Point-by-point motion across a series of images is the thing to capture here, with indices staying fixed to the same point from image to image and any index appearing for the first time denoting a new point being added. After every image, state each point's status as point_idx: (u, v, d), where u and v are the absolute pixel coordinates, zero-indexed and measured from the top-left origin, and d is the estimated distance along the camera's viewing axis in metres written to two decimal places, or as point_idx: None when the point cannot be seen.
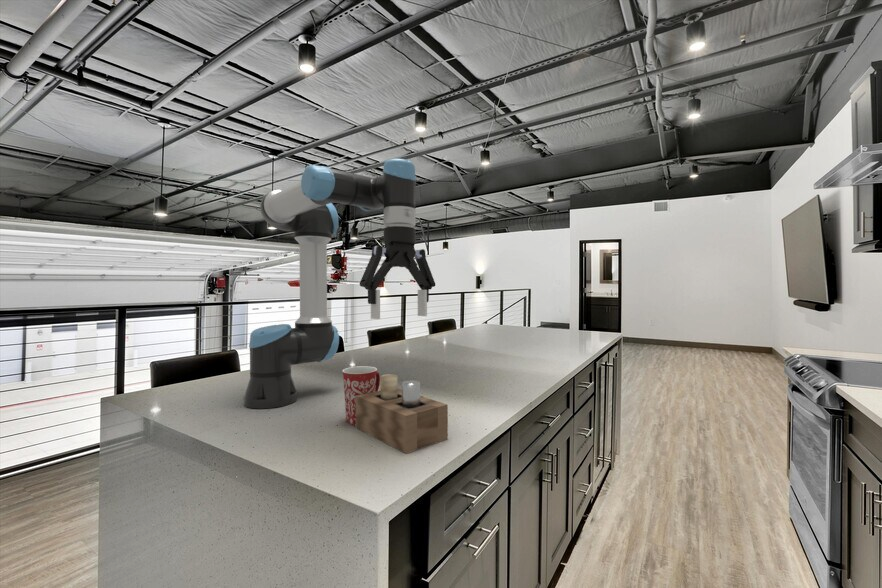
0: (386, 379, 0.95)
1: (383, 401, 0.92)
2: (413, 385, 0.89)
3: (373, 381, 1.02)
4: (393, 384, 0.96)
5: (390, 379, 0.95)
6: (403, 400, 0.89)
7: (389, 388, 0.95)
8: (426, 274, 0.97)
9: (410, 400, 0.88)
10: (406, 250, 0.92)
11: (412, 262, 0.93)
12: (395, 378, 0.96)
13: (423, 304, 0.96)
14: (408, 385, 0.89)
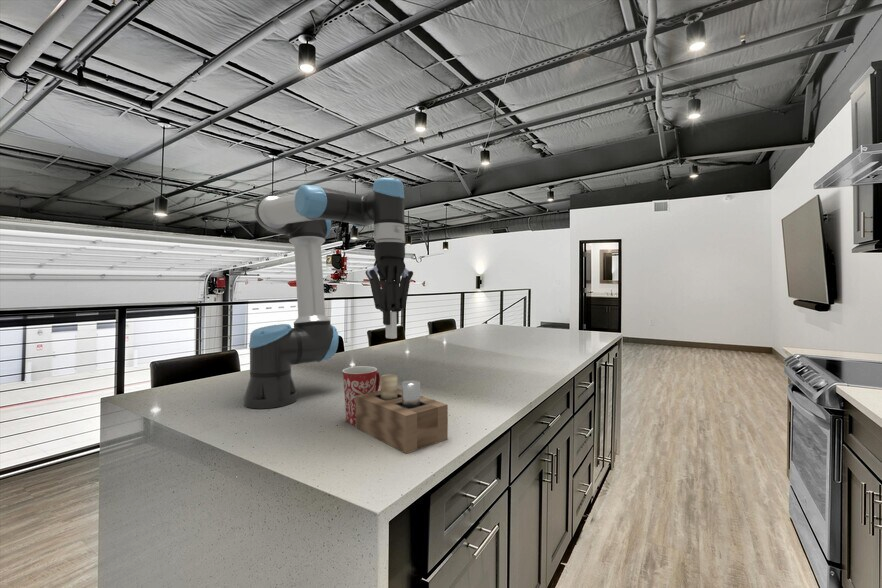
0: (386, 379, 0.95)
1: (383, 401, 0.92)
2: (413, 385, 0.89)
3: (373, 381, 1.02)
4: (393, 384, 0.96)
5: (390, 379, 0.95)
6: (403, 400, 0.89)
7: (389, 388, 0.95)
8: (402, 294, 0.98)
9: (410, 400, 0.88)
10: (398, 259, 0.97)
11: (397, 277, 0.96)
12: (395, 378, 0.96)
13: None
14: (408, 385, 0.89)
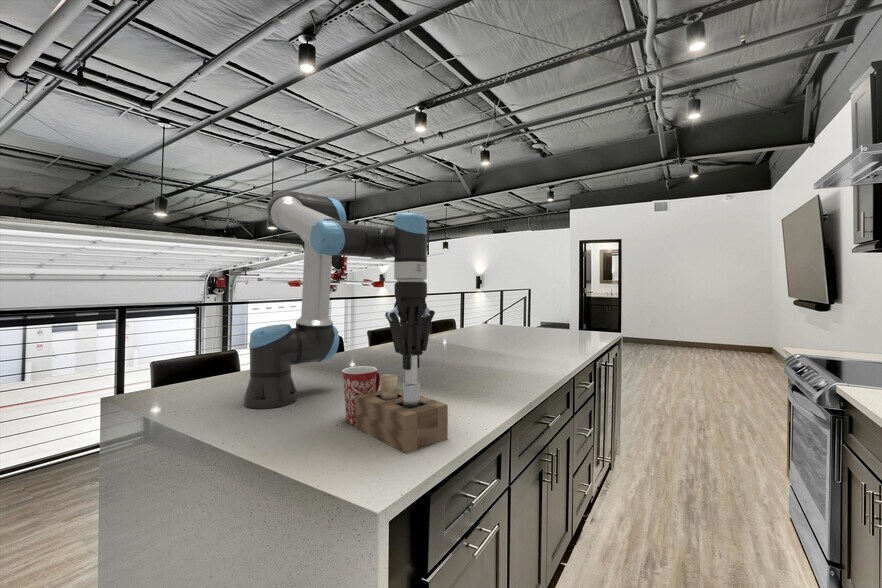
0: (386, 379, 0.95)
1: (383, 401, 0.92)
2: (413, 386, 0.89)
3: (373, 381, 1.02)
4: (393, 384, 0.96)
5: (390, 379, 0.95)
6: (403, 401, 0.89)
7: (389, 388, 0.95)
8: (423, 335, 0.92)
9: (410, 402, 0.89)
10: (419, 299, 0.91)
11: (418, 318, 0.90)
12: (395, 378, 0.96)
13: None
14: (408, 386, 0.89)
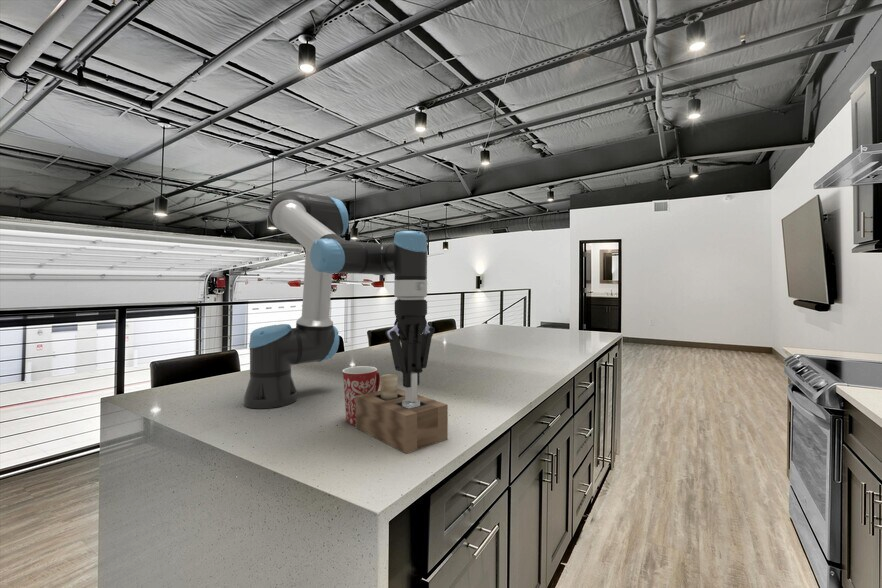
0: (386, 379, 0.95)
1: (383, 401, 0.92)
2: (413, 404, 0.89)
3: (373, 381, 1.02)
4: (393, 384, 0.96)
5: (390, 379, 0.95)
6: None
7: (389, 388, 0.95)
8: (423, 352, 0.92)
9: None
10: (420, 317, 0.91)
11: (419, 336, 0.90)
12: (395, 378, 0.96)
13: None
14: (408, 404, 0.89)
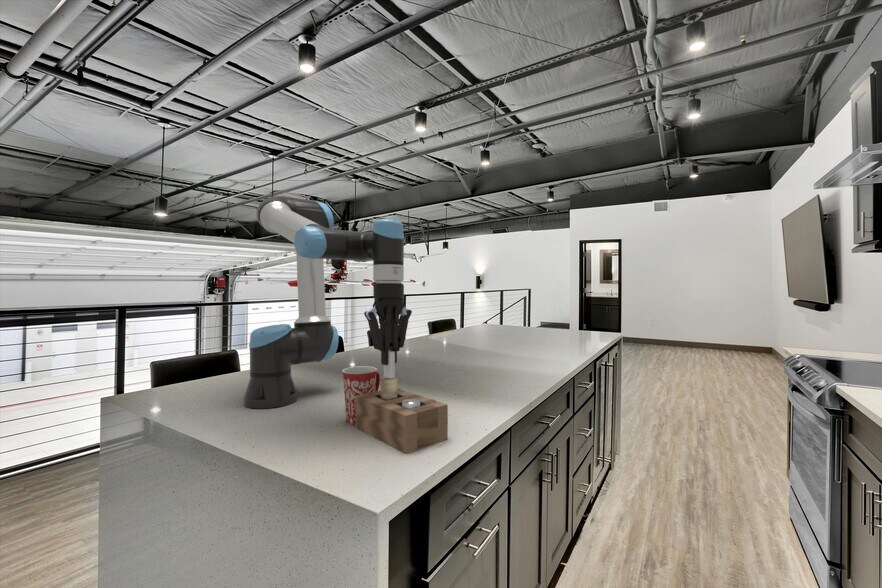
0: (386, 381, 0.95)
1: (383, 401, 0.92)
2: (413, 404, 0.89)
3: (373, 381, 1.02)
4: (393, 387, 0.96)
5: (390, 381, 0.95)
6: None
7: (389, 391, 0.95)
8: (400, 333, 0.99)
9: None
10: (397, 299, 0.97)
11: (396, 317, 0.96)
12: (395, 380, 0.96)
13: None
14: (408, 404, 0.89)
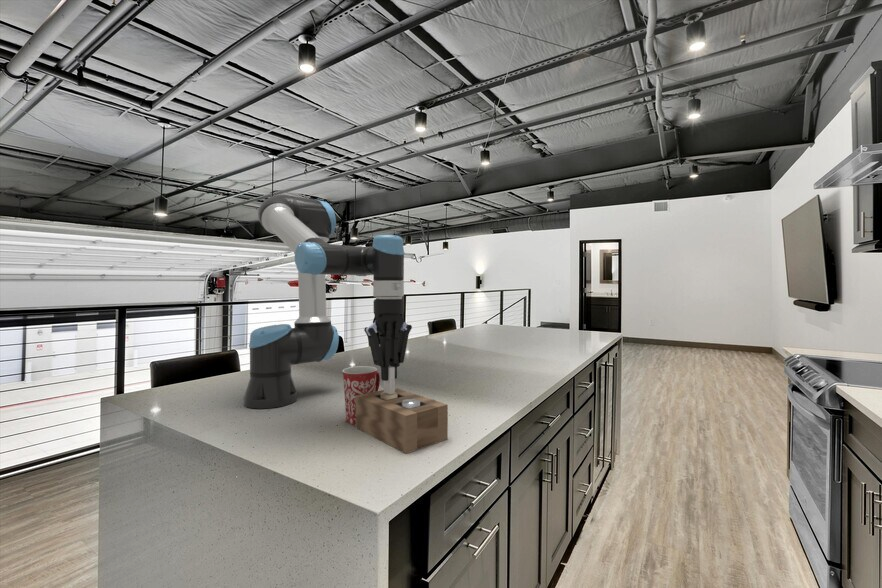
0: (386, 397, 0.95)
1: (383, 401, 0.92)
2: (413, 404, 0.89)
3: (373, 381, 1.02)
4: None
5: (390, 397, 0.95)
6: None
7: None
8: (400, 348, 0.99)
9: None
10: (397, 315, 0.97)
11: (396, 332, 0.96)
12: (395, 396, 0.96)
13: None
14: (408, 404, 0.89)
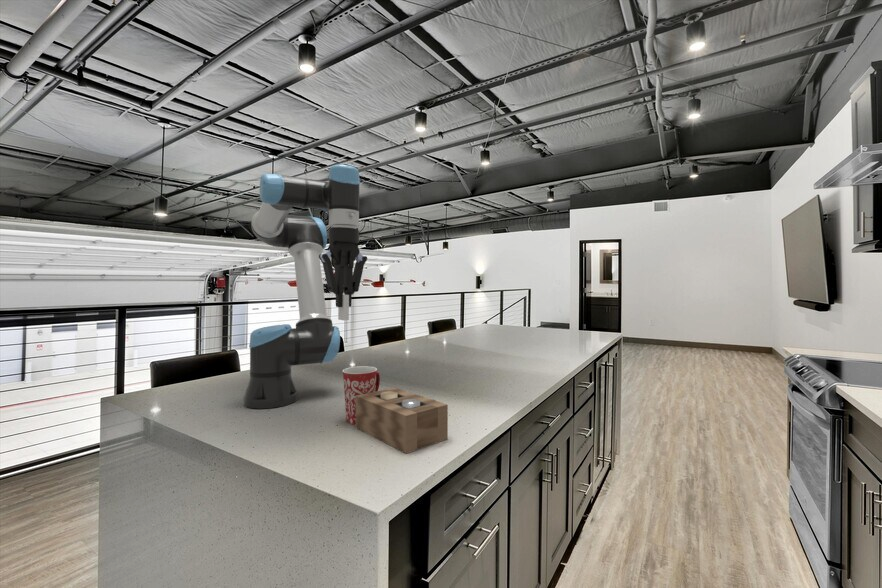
0: (386, 397, 0.95)
1: (383, 401, 0.92)
2: (413, 404, 0.89)
3: (373, 381, 1.02)
4: None
5: (390, 397, 0.95)
6: None
7: None
8: (355, 278, 1.02)
9: None
10: (352, 245, 1.01)
11: (350, 261, 1.00)
12: (395, 396, 0.96)
13: (345, 308, 1.00)
14: (408, 404, 0.89)
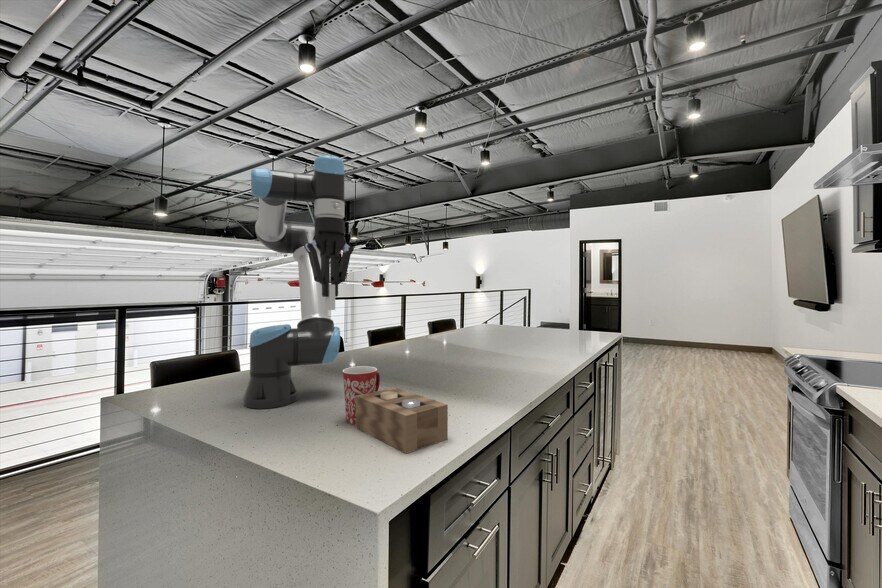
0: (386, 397, 0.95)
1: (383, 401, 0.92)
2: (413, 404, 0.89)
3: (373, 381, 1.02)
4: None
5: (390, 397, 0.95)
6: None
7: None
8: (342, 268, 1.03)
9: None
10: (338, 235, 1.01)
11: (336, 251, 1.00)
12: (395, 396, 0.96)
13: None
14: (408, 404, 0.89)
